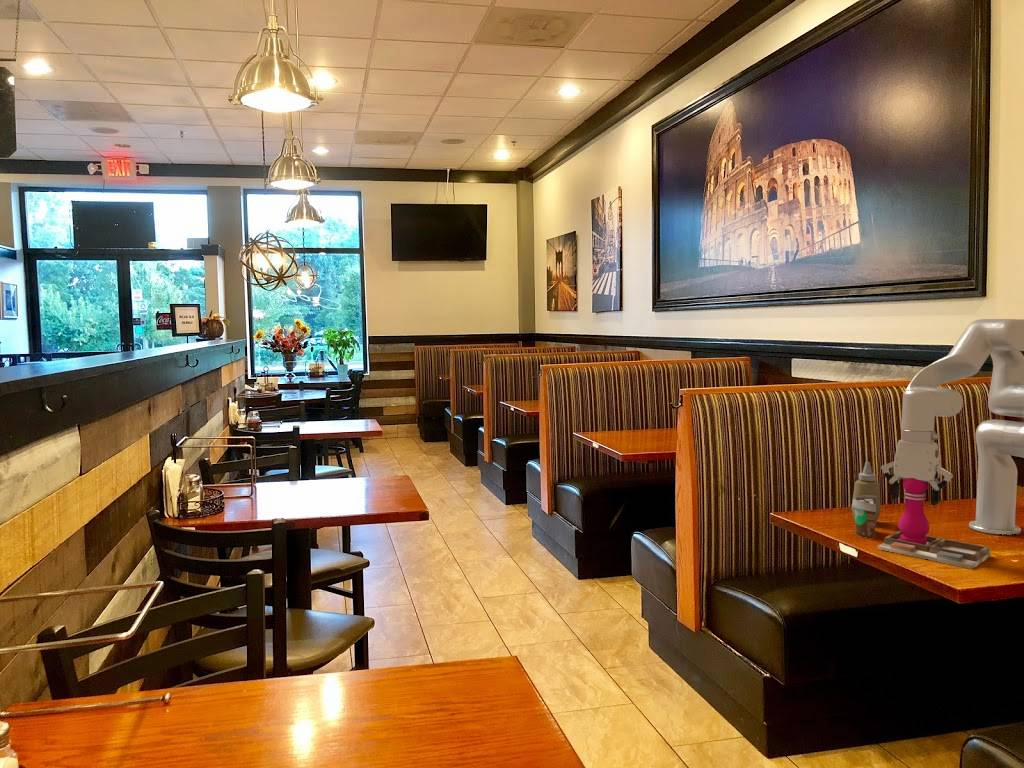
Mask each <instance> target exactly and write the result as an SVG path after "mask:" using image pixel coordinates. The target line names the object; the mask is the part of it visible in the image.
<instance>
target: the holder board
mask: <svg viewBox="0 0 1024 768" xmlns="http://www.w3.org/2000/svg"><path fill="white" fill-rule="evenodd" d="M900 535H902V532H901V531H900V530H897V531H896V532H893V533H892V534H889V535H888V536H885V537H883V538H884V539H883V543H881V544H879V545H877V549H880V550H879V551H881V550H884V551H883V552H886V551H889V552H888V553H891V552H895V553H894V554H896V553H900V554H899V555H901V554H905V555H909V556H908V557H910V556H914V557H913V558H915V557H918V558H917V559H920V558H922V559H921V560H925V559H928V560H927V561H930V560H932V561H931V562H935V561H937V562H936V563H939V562H941V563H940V564H944V563H945V564H946V565H951V566H955V567H960V568H964V569H965V568H966V569H968V570H973V569H975V568H976V567H977V566H979V565H980V564H981V563H983V562H984V561H986V560H987V559H989V558H990V557H991V556H992V552H990V547H989V546H985V545H979V544H974V543H968V542H965V541H964V542H963V541H958V540H953V539H948V538H942V537H936V536H931V535H927V534H926V535H925V536H924V537H926V538H927V544H926V545H923V544H918V543H913V542H907V541H902V540H900ZM905 555H904V556H905Z"/></svg>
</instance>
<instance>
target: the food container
mask: <svg viewBox="0 0 1024 768" xmlns="http://www.w3.org/2000/svg"><path fill="white" fill-rule="evenodd" d="M852 500H853V499H852ZM876 503H877V496H870V495H865V496H857V497H855V499H854V500H853V503H851V507H852V506H853V507H855V519H854V522H855V523H854V524H855V525H854V526H855V534H857V535H856V536H858V535H859V536H858V537H861V536H862V537H861V538H864V537H867V538H866V539H869V538H875V539H876V530H877V529H876V525H877V522H876Z"/></svg>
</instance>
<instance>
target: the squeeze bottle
mask: <svg viewBox="0 0 1024 768" xmlns="http://www.w3.org/2000/svg"><path fill="white" fill-rule="evenodd" d="M876 479H877V475H876V474H875V473H873V471H872V466H871V462H870V461H865V463H864V467H863V470H862V472H859V473H858V480H856V481H855V482H854V487H853V495H852V499H851V502H852V503H853V500H854V499H855V497H857V496H865V495H870V496H877V503H876V523H877V522H878V519H879V517H880V515H881V512H882V509H881V507H882V506H881V493H880V483H879V482H877V481H876ZM852 503H851V504H852ZM850 508H851V512H852V515H853V516H852V517H853V520H855V507H853V506H852V505H851V506H850Z"/></svg>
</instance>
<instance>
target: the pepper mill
mask: <svg viewBox="0 0 1024 768" xmlns="http://www.w3.org/2000/svg"><path fill="white" fill-rule="evenodd" d="M902 486H903V489H904V490H905V491H904V498H905V507H904V511H903V513H902V515H901V517H900V518H899V521H898V526H897V527H898V529H899V530H898V531H901V532H902V535H900V540H902V541H907V542H913V543H918V544H923V545H926V544H927V538H926V537H924V536H925V535H926V536H927V534H929V532H930V524H929V521H928V520H929V519H928V518H927V516H926V514H925V511H924V510H925V508H924V501H925V500H926V499H927V498H926V496H927V494H926V491H928V489H929V482H924V481H920V480H917V479H915V478H906V479H903V481H902Z"/></svg>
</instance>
